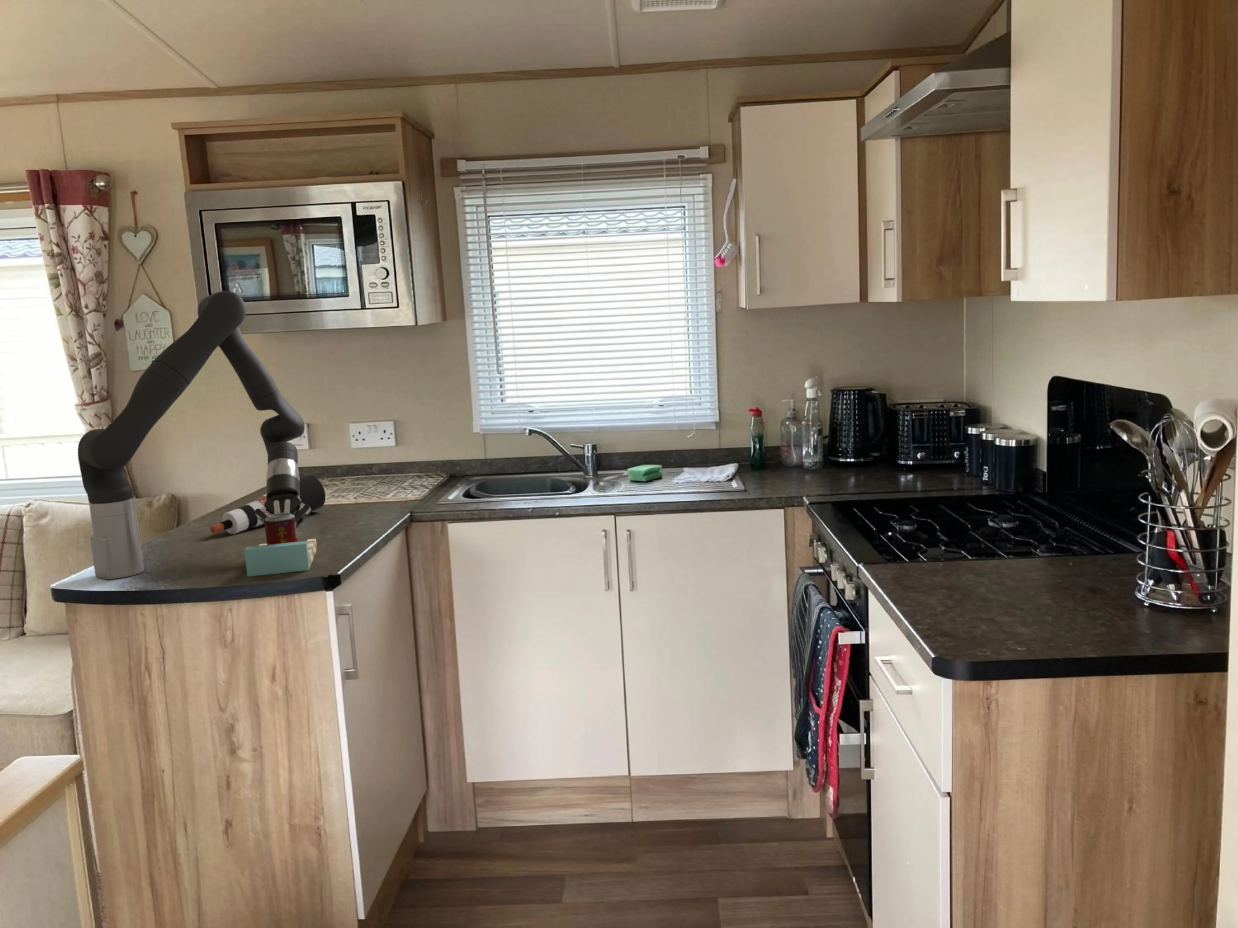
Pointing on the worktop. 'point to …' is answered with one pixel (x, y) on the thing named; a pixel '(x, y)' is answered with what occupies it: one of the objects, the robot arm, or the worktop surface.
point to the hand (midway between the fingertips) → (283, 542)
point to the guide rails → (309, 549)
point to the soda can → (280, 528)
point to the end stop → (277, 558)
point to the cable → (247, 517)
